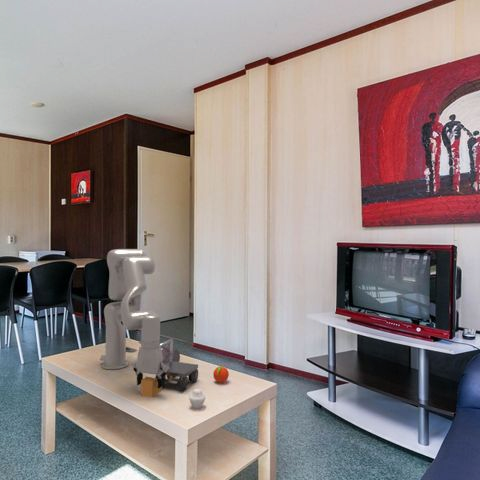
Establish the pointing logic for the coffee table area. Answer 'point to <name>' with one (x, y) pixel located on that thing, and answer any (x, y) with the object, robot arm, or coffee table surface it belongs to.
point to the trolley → (179, 371)
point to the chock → (149, 387)
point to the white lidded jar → (197, 398)
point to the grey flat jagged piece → (129, 349)
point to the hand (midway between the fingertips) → (149, 385)
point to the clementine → (220, 374)
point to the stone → (167, 354)
